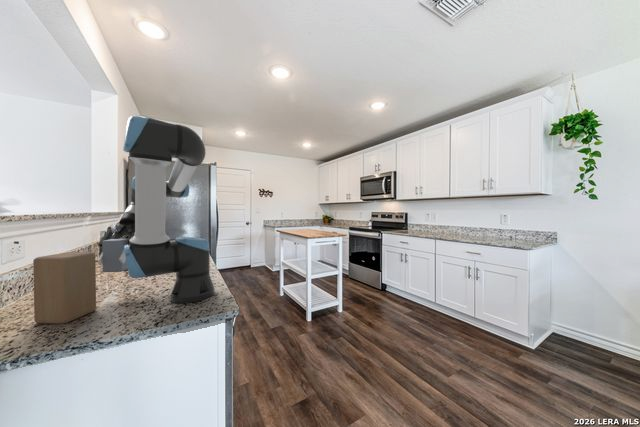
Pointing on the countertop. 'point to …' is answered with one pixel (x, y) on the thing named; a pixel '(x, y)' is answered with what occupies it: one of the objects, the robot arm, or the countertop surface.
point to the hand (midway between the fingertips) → (111, 261)
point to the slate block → (113, 255)
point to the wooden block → (64, 286)
